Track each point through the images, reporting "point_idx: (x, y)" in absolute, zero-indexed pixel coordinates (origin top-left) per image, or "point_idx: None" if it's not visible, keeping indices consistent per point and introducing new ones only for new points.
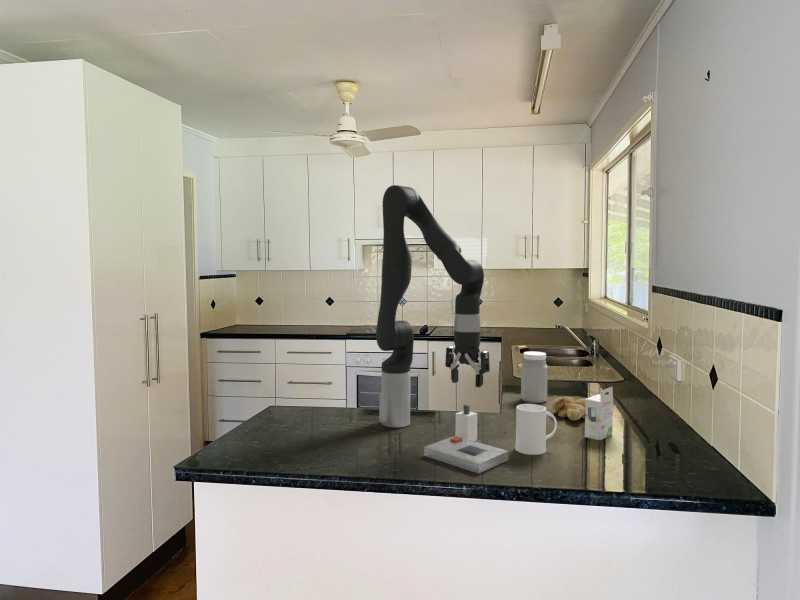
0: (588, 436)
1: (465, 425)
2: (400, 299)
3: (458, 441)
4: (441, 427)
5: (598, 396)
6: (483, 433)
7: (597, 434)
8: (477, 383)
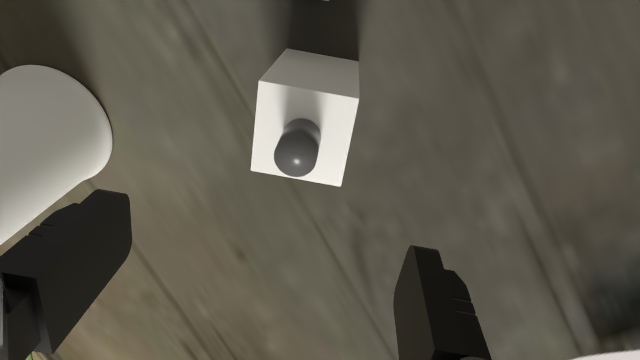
0: None
1: (287, 69)
2: None
3: None
4: (494, 186)
5: None
6: (299, 205)
7: None
8: (77, 207)
